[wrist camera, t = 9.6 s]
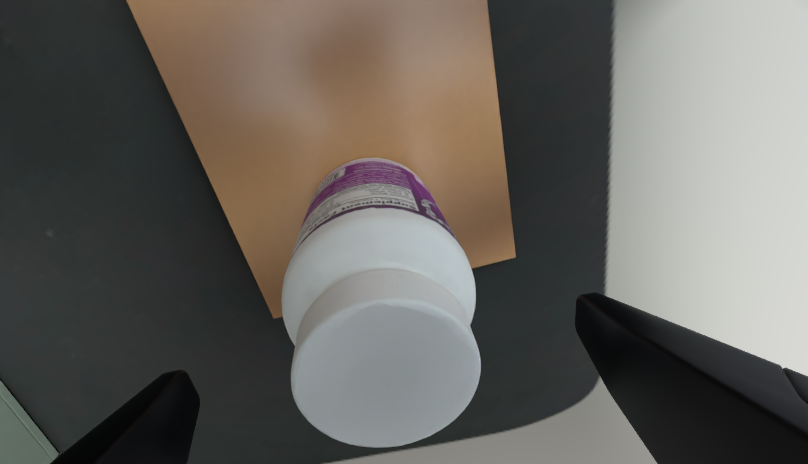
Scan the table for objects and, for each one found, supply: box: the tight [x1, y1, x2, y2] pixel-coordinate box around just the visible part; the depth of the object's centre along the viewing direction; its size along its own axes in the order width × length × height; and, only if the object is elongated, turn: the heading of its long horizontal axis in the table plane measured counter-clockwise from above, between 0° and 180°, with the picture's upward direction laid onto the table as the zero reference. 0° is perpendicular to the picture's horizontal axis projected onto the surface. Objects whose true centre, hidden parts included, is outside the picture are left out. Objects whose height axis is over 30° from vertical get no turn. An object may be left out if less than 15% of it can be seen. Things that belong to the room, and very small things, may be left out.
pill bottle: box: [281, 158, 481, 448], centre depth 12 cm, size 5×5×10 cm
